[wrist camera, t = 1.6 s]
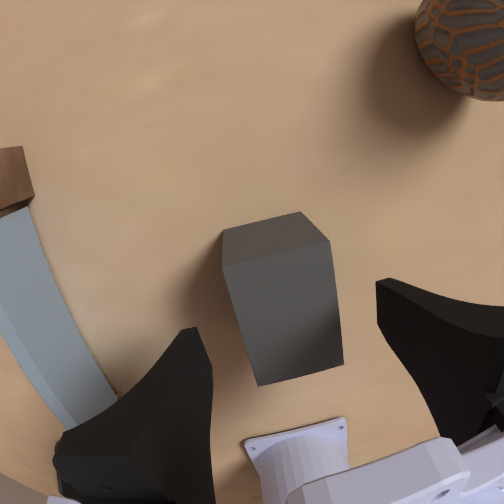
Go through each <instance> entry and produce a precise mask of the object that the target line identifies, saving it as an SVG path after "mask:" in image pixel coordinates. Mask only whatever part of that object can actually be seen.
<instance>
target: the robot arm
mask: <svg viewBox="0 0 504 504" xmlns="http://www.w3.org/2000/svg"><path fill="white" fill-rule="evenodd" d="M376 302H377V324H378V326H379V328H380V330H381V332H382V334H383V336H384V338H385V339H386V341H387V343H388V344H389V346H390V347H391V349H392V350H393V351H394V353H395V354H396V356H397V357H398V358H399V360H400V361H401V362H402V364H403V365H404V367H405V368H406V369H407V371H408V372H409V374H410V375H411V376H412V378H413V379H414V381H415V383H416V384H417V386H418V388H419V390H420V392H421V394H422V395H423V397H424V399H425V401H426V403H427V406H428V408H429V410H430V412H431V414H432V416H433V419H434V421H435V423H436V426H437V428H438V431H439V433H440V436H441V437H435V438H432V439H429V440H426V441H423V442H420V443H418V444H416V445H413V446H411V447H409V448H406V449H404V450H401V451H399V452H396V453H394V454H391V455H389V456H386V457H383V458H381V459H378V460H375V461H372V462H369V463H367V464H364V465H361V466H357V467H354V468H350V465H349V462H348V457H347V427H346V420H345V418H343V417H340V418H336V419H332V420H329V421H325V422H322V423H318V424H314V425H311V426H307V427H303V428H299V429H294V430H290V431H286V432H281V433H277V434H272V435H267V436H262V437H257V438H251V439H247V440H245V441H244V447H245V449H246V451H247V453H248V455H249V457H250V459H251V461H252V463H253V465H254V467H255V469H256V471H257V473H258V475H259V477H260V483H261V492H262V501H263V504H504V306H490V305H481V304H474V303H468V302H464V301H459V300H455V299H451V298H447V297H444V296H441V295H437V294H434V293H431V292H429V291H426V290H423V289H420V288H418V287H415V286H412V285H410V284H407V283H404V282H401V281H399V280H396V279H392V278H386V279H383V280H379V281H376ZM212 398H213V375H212V365H211V363H210V360H209V358H208V355H207V353H206V350H205V348H204V345H203V343H202V340H201V337H200V335H199V332H198V330H197V327H192V328H187V329H182V330H181V331H180V332H179V333H178V335H177V336H176V337H175V339H174V340H173V341H172V343H171V344H170V345H169V347H168V348H167V349H166V351H165V352H164V353H163V355H162V356H161V357H160V358H159V360H158V361H157V362H156V363H155V364H154V366H153V367H152V368H151V369H150V370H149V371H148V373H147V374H146V375H145V376H144V377H143V378H142V379H141V380H140V381H139V382H138V383H137V384H136V385H135V386H134V387H133V388H132V389H131V390H130V391H129V392H128V393H126V394H125V395H124V396H123V397H121V398H120V399H119V400H118V401H116V402H115V403H114V404H112V405H111V406H110V407H108V408H107V409H106V410H104V411H103V412H101V413H100V414H98V415H96V416H95V417H93V418H91V419H90V420H88V421H86V422H84V423H82V424H80V425H78V426H76V427H74V428H72V429H70V430H68V431H65V432H63V435H62V437H61V440H60V442H59V444H58V447H57V449H56V452H55V454H54V457H53V459H52V460H53V465H54V467H55V469H56V471H57V472H58V473H59V474H60V476H61V477H62V478H63V479H65V480H66V481H67V482H68V483H69V484H70V485H71V486H72V487H74V488H75V489H76V490H77V491H78V492H80V493H81V494H82V495H83V496H84V497H83V500H82V503H80V502H78V501H76V500H73V499H68V498H63V497H58V496H53V495H49V497H48V500H47V503H46V504H216V501H215V493H214V485H213V476H212V466H211V452H210V425H211V411H212Z"/></svg>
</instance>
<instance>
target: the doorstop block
mask: <svg viewBox="0 0 504 504" xmlns="http://www.w3.org/2000/svg"><path fill="white" fill-rule="evenodd" d="M222 271H223V274H224V278H225V281H226V285H227V288H228V291H229V295H230V298H231V301H232V305H233V308H234V311H235V315H236V318H237V321H238V325H239V328H240V331H241V334H242V338H243V341H244V344H245V347H246V351H247V354H248V357H249V360H250V363H251V366H252V370H253V373H254V376H255V379H256V382H257V385H258V387H259V386H263V385H268V384H272V383H277V382H281V381H285V380H289V379H293V378H297V377H301V376H305V375H309V374H312V373H316V372H320V371H323V370H327V369H330V368H334V367H337V366H341V365H344V359H343V347H342V336H341V326H340V316H339V307H338V298H337V290H336V282H335V274H334V267H333V260H332V253H331V246H330V241H329V240H328V239H327V238H326V237H325V236H324V235H323V234H322V233H321V232H320V231H319V230H318V229H317V227H316V226H315V225H314V224H313V223H312V222H311V221H310V220H309V219H308V218H307V217H306V216H305V215H304V214H303V213H302V212H301V211H300V212H296V213H292V214H287V215H283V216H279V217H275V218H270V219H266V220H262V221H258V222H254V223H250V224H246V225H241V226H237V227H233V228H229V229H225V230H223V245H222Z"/></svg>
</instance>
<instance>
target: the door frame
mask: <svg viewBox="0 0 504 504" xmlns="http://www.w3.org/2000/svg"><path fill="white" fill-rule="evenodd" d="M33 196H35V194H34V191H33V187H32V184H31V180H30V176H29V172H28V168H27V164H26V160H25V156H24V151H23V147H22V146H17V147H9V148H1V149H0V211H3V210H5V209H8V208H10V207H12V206H14V205H16V204H18V203H20V202H22V201H24V200H26V199H28V198H30V197H33Z"/></svg>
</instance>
